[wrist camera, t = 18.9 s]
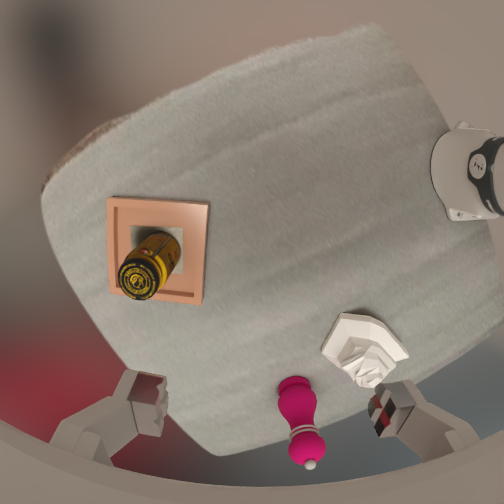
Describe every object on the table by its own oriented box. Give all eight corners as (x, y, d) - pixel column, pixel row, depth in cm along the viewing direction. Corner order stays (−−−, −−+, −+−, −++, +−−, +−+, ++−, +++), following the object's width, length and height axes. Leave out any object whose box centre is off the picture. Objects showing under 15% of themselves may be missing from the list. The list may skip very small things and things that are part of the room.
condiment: (183, 273, 45) (165, 310, 33) (132, 270, 44) (102, 303, 33) (183, 227, 43) (162, 250, 31) (130, 225, 42) (95, 247, 31)
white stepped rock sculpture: (352, 371, 55) (353, 425, 42) (311, 326, 53) (304, 382, 40) (405, 342, 50) (418, 397, 37) (368, 291, 47) (379, 345, 35)
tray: (209, 202, 43) (207, 205, 40) (203, 298, 47) (201, 305, 45) (113, 196, 42) (106, 198, 39) (115, 287, 46) (110, 293, 44)
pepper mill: (270, 396, 54) (279, 478, 35) (284, 370, 52) (299, 455, 33) (302, 401, 55) (320, 479, 36) (317, 377, 53) (343, 457, 34)
